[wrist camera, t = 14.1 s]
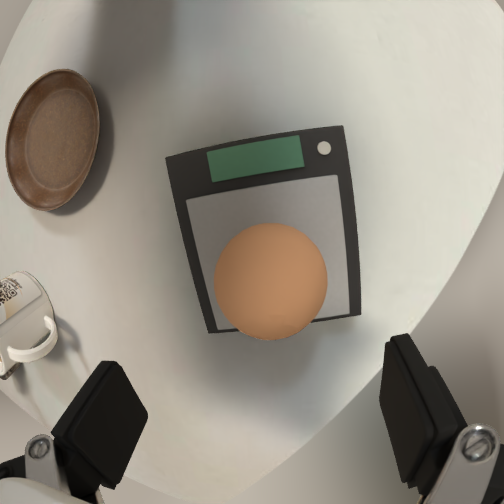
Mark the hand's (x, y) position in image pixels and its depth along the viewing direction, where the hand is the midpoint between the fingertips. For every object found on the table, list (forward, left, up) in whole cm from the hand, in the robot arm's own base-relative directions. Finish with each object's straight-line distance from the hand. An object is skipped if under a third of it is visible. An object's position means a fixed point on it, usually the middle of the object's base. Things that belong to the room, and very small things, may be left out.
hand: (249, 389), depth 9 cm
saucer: (-15, -20, -18) cm, 30 cm away
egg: (+1, 0, -15) cm, 15 cm away
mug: (+4, -33, -18) cm, 38 cm away
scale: (-1, 0, -18) cm, 18 cm away
